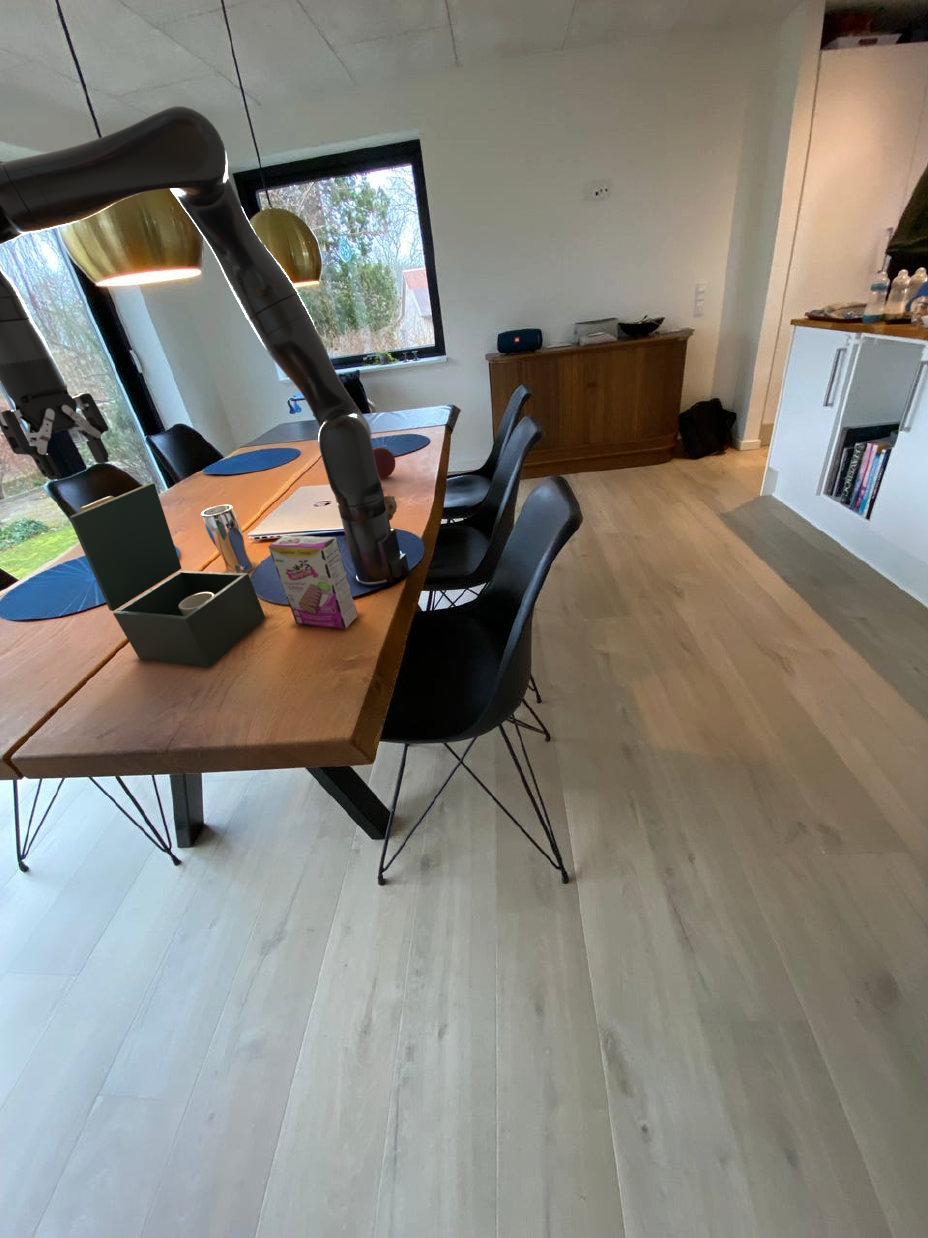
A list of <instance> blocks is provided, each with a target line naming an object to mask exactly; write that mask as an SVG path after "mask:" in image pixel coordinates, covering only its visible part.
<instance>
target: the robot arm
mask: <svg viewBox="0 0 928 1238" xmlns="http://www.w3.org/2000/svg"><path fill="white" fill-rule="evenodd" d="M227 157H228V156H227V151H226V147H225V144H224V141H223V139H222V137H221V134H220V132H219V131H218V129H217V128H216V127H215V125H214V124H213V123H212V122H211V121H210V119H208V118H207V117H206V116H205V115H204V114H202V113H201V112H199V111H197V110H196V109H193V108H191V107H187V106H184V105H183V106H181V105H180V106H179V105H175V106H170V107H168V108H165V109H162V110H161V111H158V112H156V113H154V114H151V115H150V116H148V117H146V118H143V119H141V120H139V121H137V122H135V123H134V124H131V125H129V126H127V127H125V128H122V129H120V130H118V131H114V132H112V133H110V134H108V135H107V134H106V135H104V136H101V137H98V138H96V139H93V140H91V141H87V142H84V143H81V144H80V143H79V144H77V145H74V146H73V145H72V146H70V147H67V148H63V149H59V150H54V151H50V152H46V153H40V154H37V155H32V156H27V157H21V158H16V159H12V160H8V161H4V162H0V246H1V245H3V244H5V243H7V242H10V241H13V240H15V239H17V238H19V237H21V236H24V235H26V234H29V233H38V232H42V231H46V230H51V229H55V228H58V227H62V226H67V225H71V224H74V223H77V222H80V221H83V220H85V219H88V218H90V217H92V216H94V215H97V214H99V213H101V212H102V211H104V210H106V209H109V207H111V206H113V205H115V204H117V203H119V202H121V201H124V200H125V199H129V198H131V197H135V196H137V195H141V194H145V193H150V192H154V191H161V190H163V191H165V190H170V191H171V193H172V194H173V195H174V197H175V198H176V199H177V201H178V202H179V203H180V205H181V207H182V208H183V209H184V211H185V212H186V213H187V215H188V216H189V218H190V219H191V220H192V223H193V224H194V225H195V227H196V228H197V230H198V231H199V233H200V234H201V235H202V237H203V238H204V240H205V241H206V243H207V244H208V246H209V247H210V249H211V251H212V253H213V254H214V256H215V258H216V260H217V262H218V264H219V266H220V268H221V270H222V273H223V274H224V277H225V279H226V281H227V283H228V285H229V287H230V289H231V291H232V293H233V295H234V297H235V298H236V300H237V302H238V305H239V306H240V308H241V309H242V312H243V313H244V315H245V318H246V319H247V321H248V322H249V324H250V326H251V327H252V329H253V331H254V333H255V334H256V335H257V336H256V337H258V339H259V341H260V343H261V344H262V346H263V347H264V349H265V350H266V351H267V353H268V354H269V356H270V357H271V358H272V360H273V361H274V362H275V363H276V365H277V366H278V367H279V368H280V369H281V371H282V372H283V373H284V374H285V375H286V376H287V378H289V380H290V381H291V382H292V383H293V384H294V386H295V387H296V389H298V391H299V392H300V393H301V396H302V397H303V398H304V400H305V401H306V403H307V405H308V407H309V410H310V412H311V413H312V415H313V417H314V418H315V421H316V423H317V426H318V427H319V431H318V437H317V439H318V440H317V441H318V449H319V452H320V456H321V460H322V463H323V466H324V470H325V473H326V477H327V480H328V483H329V486H330V489H331V492H332V493H333V495H334V498H335V502H336V506H337V509H338V512H339V517H340V520H341V523H342V527H343V531H344V536H345V537H346V539H345V540H346V543H347V546H348V550H349V554H350V560H351V563H352V565H353V568H354V572H355V577H356V582H357V583H358V584H359V585H362V586H366V587H376V586H382V585H385V584H393V583H394V582H395V581H396V580H397V579H398V578H400V577H401V576H402V575H403V576H405V577H407V575H408V574H409V573H410V568H409V562H408V558H407V554H406V553H402V551H401V549H400V545H399V541H398V540H399V539H398V535H397V530H396V529H395V528H391V521H390V520H389V517H388V512H387V508H386V503H385V498H384V496H385V494H384V490H383V489H384V488H383V483H382V482H381V480H380V479H381V478H379V475H378V471H377V467H376V462H375V458H374V453H373V448H374V447H373V443H372V439H373V437H372V430H371V427H370V424H369V422H368V420H367V419H366V417H365V415H363V413H362V412H361V410H360V409H359V407H358V405H357V404H356V403H355V401H354V400H353V398H352V397H351V396H350V394H349V392H348V391H347V389H346V387H345V386H344V383H343V382H342V381H341V379H340V377H339V375H338V374H337V372H336V370H335V367H334V365H333V363H332V359H331V358H330V355H329V354H328V351H327V349H326V346H325V344H324V342H323V340H322V338H321V336H320V333H319V332H318V330H317V328H316V326H315V323H314V321H313V319H312V317H311V315H310V314H309V311H308V309H307V308H306V306H305V303H304V302H303V300H302V299H301V296H300V295H299V292H298V291H297V289H296V287H295V285H294V284H293V282H292V281H291V279H290V277H289V276H288V275H287V273H286V272H285V270H284V269H283V268H282V266H281V264H280V263H279V262H278V261H277V259H276V258H275V257H274V256H273V255H272V253H271V252H270V251H269V249H268V248H267V247H266V245H265V244H264V243H263V242H262V240H261V239H260V237H259V236H258V235H257V233H256V232H255V230H254V228H253V225H252V224H251V223H250V220H249V219H248V217H247V215H246V213H245V211H244V208H243V207H242V204H241V203H240V200H239V198H238V195H237V194H236V192H235V189H234V188H233V185H232V182H231V179H230V177H229V174H228V158H227ZM0 384H1V385H2V387H3V389H4V391H5V393H6V395H7V396H8V397H9V398H10V399H11V400H12V401H13V404H14V406H15V407H14V409H12V410H10V409H5V410H0V430H1V431H2V433H3V435H4V437H5V439H6V441H7V443H8V445H9V447H10V449H11V451H12V453H13V454H15V455H22V456H23V455H25V456H29V457H31V458H32V459H33V461H34V463H35V465H36V466H37V468H38V470H39V472H40V473H41V475H42V476H43V477H44V478H47V479H48V480H50V481H52V480H53V481H54V480H55V481H56V480H59V479H62V475H61V472H60V470H59V469H58V468H57V465H56V464H55V462H54V460H53V458H52V457H51V454H50V453H47V450H48V445H49V442H50V440H51V438H52V435H53V434H58V433H60V432H62V431H69V430H71V431H74V432H76V433H78V434H79V435H80V436H82V437H84V439H87V440H85V443H86V445H87V447H88V449H89V451H90V453H91V455H92V458H93V459H94V461H95V462H96V463H97V464H106V463H109V461H110V460H109V453H108V451H107V448H106V447H105V444H104V442H103V440H102V435H103V434H104V433H105V432H108V431H109V426H108V423H107V422H106V420H105V418H104V416H103V414H102V412H101V411H100V409H99V407H98V405H97V403H96V401H95V400H94V397H93V396H92V394H91V393H88V392H85V393H77V394H74V396H72V395H71V394H70V393H69V391H68V384H67V382H66V380H65V378H64V376H63V374H62V371H61V369H60V368H59V366H58V364H57V362H56V360H55V358H54V356H53V354H52V352H51V350H50V348H49V346H48V344H47V341H46V340H45V337H44V335H42V333H41V332H40V330H39V328H38V327H37V325H36V323H35V322H34V319H33V318H32V315H31V314H30V312H29V310H28V308H27V306H26V304H25V301H24V299H23V298H22V296H21V294H20V292H19V290H18V288H17V286H16V285H15V284H14V282H13V281H12V279H11V278H10V277H9V276H8V275H7V274H6V273H5V272H4V271H3V270H2V268H1V267H0ZM77 408H78V410H80V411H81V413H82V415H83V416H84V417H82V416H81V415H80V414H79V413H77ZM23 421H24V422H26V423H27V427H26V434H25V432H24V430H23V428H22V426H21V425H22V422H23Z"/></svg>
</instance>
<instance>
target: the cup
mask: <svg viewBox="0 0 928 1238" xmlns="http://www.w3.org/2000/svg"><path fill="white" fill-rule="evenodd" d="M213 596H214V594H213V593H211V592H203V593H198V594H194V595H192V596H189V597H187V598H186V599H184V600H183V601H181V602H180V604H179V609H180V611H181V613H182V615H183V616H186V615H188V614H189V613H191V612H192V611H193V610H195V609H196V608H198V607H199V606H200V605H202V604H203V603H204V602H206V601H207V600H209V599H210V598H211V597H213Z"/></svg>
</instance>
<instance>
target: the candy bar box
mask: <svg viewBox="0 0 928 1238" xmlns="http://www.w3.org/2000/svg"><path fill="white" fill-rule="evenodd" d="M267 547H268V549H269V552H270V555H271V558H272V561H273V563H274V566H275V569H276V572H277V575H278V578H279V580H280V582H281V586H282V589H283V591H284V595H285V596H286V600H287V602H288V605H289V607H290V611H291V614H292V616H293V619H294V622H295V624H296V625H298V626H307V627H309V626H311V627H319V628H329V629H340V630H347V629H348V628H349V627H350V626H351V625H352V623H353V622H354V621H355V620H356V619H357V618H358V617H359V614H358V611H357V608H356V603H355V600H354V597H353V593H352V590H351V586H350V582H349V579H348V575H347V571H346V567H345V564H344V560H343V556H342V554H341V553H342V552H341V550H340V546H339V542H338V539H337V537H336V536H313V535H291V534H290V535H289V534H287V535H286V534H283V535H282V536H281V537H279V538H278V539H276V540H275V541H274V542H271V543H270V545H268V546H267Z"/></svg>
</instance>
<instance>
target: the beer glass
mask: <svg viewBox="0 0 928 1238" xmlns="http://www.w3.org/2000/svg"><path fill="white" fill-rule="evenodd" d="M200 516H201V517H202V521H203V523H204V527H205V529H206V532H207V534H208V536H209V539H210V540H211V542H212V544H213V545H214V547H215V548H216V550H217V552H218V553H219V554H220V556H221V558H222V559H223V562H224V566H225V571H226V573H249V572H251V571H252V570H253V569H254V567H255V566H254V564H253V562H252V561H251V559H250V557H249V555H248V552H247V550H246V545H245V539H244V534H243V530H242V527H241V524H240V522H239V518H238V517H237V515H236V512H235V510H234V509H233V506H232V505H231V504H220V505H216V506H212V507H209V508H207V509H205V510H203V511H202V512H201V514H200Z"/></svg>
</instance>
